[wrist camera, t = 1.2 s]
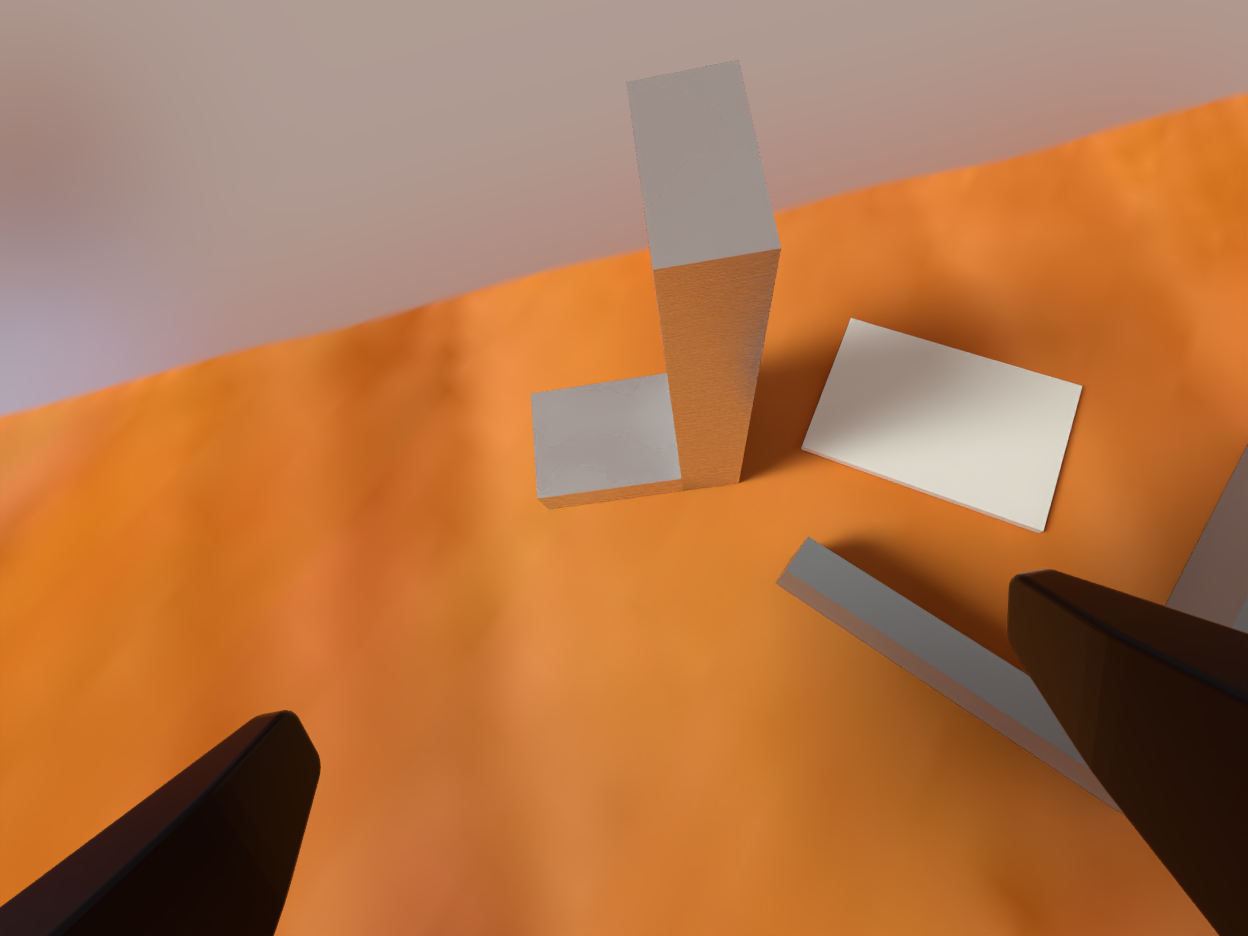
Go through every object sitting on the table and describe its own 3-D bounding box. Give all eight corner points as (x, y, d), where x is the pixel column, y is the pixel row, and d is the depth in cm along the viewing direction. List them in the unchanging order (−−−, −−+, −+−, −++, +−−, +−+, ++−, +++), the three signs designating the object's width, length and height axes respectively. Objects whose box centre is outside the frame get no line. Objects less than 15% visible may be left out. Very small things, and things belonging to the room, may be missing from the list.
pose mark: (1077, 389, 21) (1082, 386, 21) (1038, 533, 20) (1043, 531, 19) (849, 322, 23) (851, 318, 23) (800, 449, 22) (801, 446, 21)
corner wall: (1295, 450, 20) (1394, 413, 17) (1117, 811, 17) (1198, 840, 14) (963, 294, 23) (1000, 242, 20) (775, 583, 20) (786, 570, 18)
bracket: (721, 382, 23) (738, 59, 11) (738, 483, 22) (781, 248, 9) (541, 409, 24) (361, 134, 11) (548, 508, 22) (353, 320, 10)
